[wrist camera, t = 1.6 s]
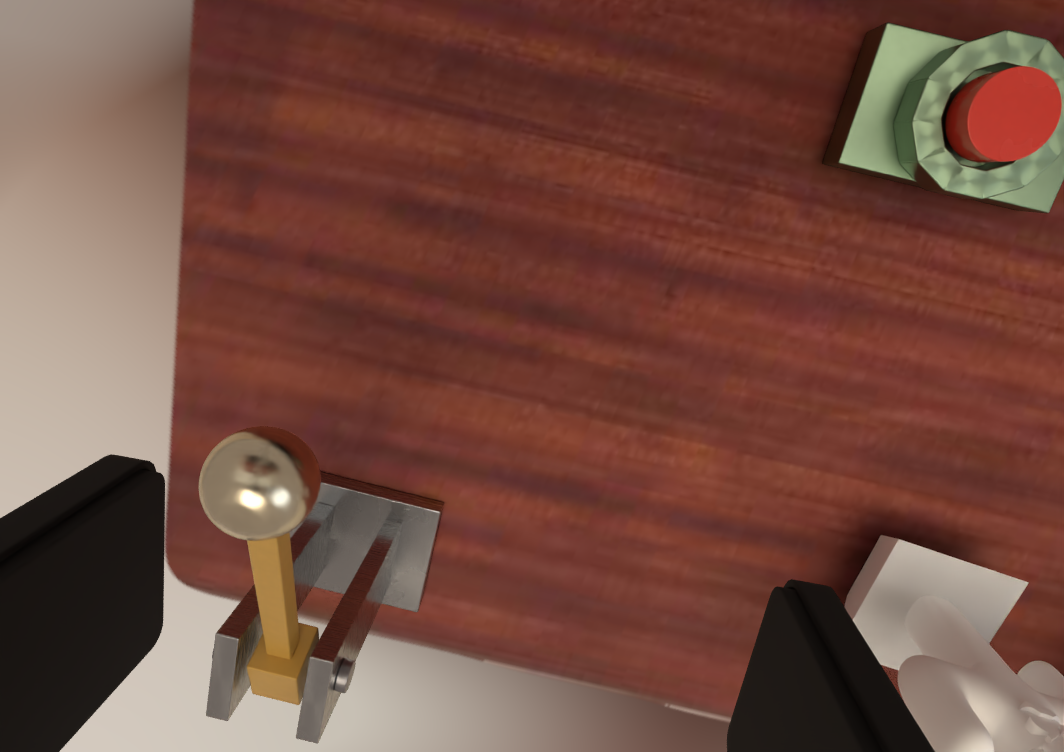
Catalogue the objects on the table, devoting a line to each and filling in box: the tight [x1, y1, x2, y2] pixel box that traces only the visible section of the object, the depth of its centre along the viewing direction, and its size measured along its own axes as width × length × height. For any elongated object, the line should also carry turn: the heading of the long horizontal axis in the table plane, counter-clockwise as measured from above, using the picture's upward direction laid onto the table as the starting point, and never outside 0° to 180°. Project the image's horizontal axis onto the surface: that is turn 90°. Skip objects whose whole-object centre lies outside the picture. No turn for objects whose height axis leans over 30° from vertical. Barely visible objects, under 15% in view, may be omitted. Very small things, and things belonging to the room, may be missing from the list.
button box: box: [823, 23, 1064, 213], centre depth 30 cm, size 10×6×4 cm, turn 77°
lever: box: [199, 426, 321, 705], centre depth 26 cm, size 16×4×4 cm, turn 166°
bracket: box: [206, 472, 444, 743], centre depth 35 cm, size 7×9×13 cm
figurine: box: [845, 535, 1064, 752], centre depth 32 cm, size 7×9×15 cm
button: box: [945, 66, 1062, 162], centre depth 28 cm, size 4×4×2 cm
